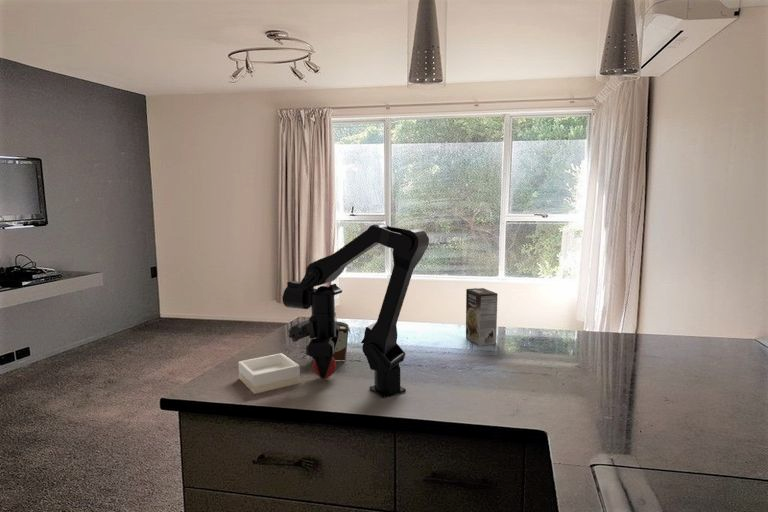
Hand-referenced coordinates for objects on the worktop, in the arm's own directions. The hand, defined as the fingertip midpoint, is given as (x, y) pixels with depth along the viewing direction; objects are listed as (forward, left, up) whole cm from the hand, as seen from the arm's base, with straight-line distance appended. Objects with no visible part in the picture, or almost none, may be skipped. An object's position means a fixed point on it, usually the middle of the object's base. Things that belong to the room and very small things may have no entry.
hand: (324, 371), depth 123 cm
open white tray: (+7, +12, -2) cm, 14 cm away
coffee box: (+1, -55, -2) cm, 55 cm away
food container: (+14, -9, -2) cm, 17 cm away
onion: (0, 0, -2) cm, 2 cm away
